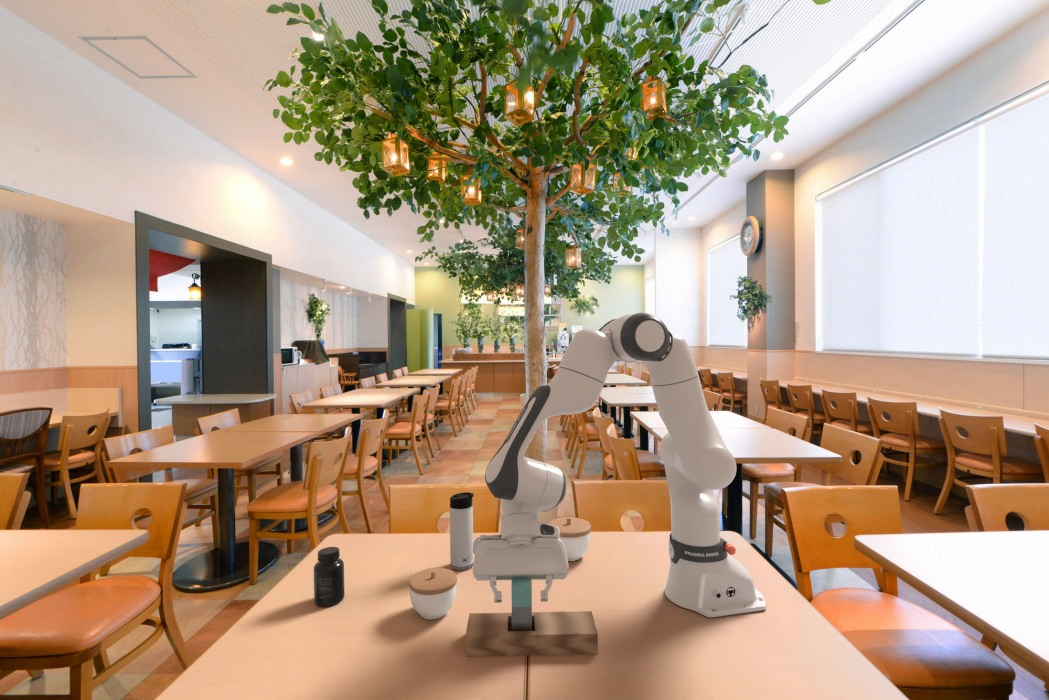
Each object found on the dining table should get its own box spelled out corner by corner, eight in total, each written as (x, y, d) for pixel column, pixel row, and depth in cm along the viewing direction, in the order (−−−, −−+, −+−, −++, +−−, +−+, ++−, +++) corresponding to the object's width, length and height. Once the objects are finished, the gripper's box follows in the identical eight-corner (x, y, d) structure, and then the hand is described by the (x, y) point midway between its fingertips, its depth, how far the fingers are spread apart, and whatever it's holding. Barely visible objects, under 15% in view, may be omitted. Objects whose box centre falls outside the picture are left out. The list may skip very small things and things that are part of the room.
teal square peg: (531, 634, 102) (530, 577, 102) (532, 646, 98) (531, 586, 98) (512, 634, 102) (511, 577, 101) (512, 646, 98) (511, 587, 97)
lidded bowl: (594, 566, 133) (593, 526, 133) (548, 566, 134) (547, 526, 133) (588, 546, 146) (588, 510, 146) (546, 547, 146) (546, 510, 146)
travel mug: (470, 572, 131) (469, 497, 130) (447, 569, 132) (446, 496, 132) (477, 561, 137) (476, 490, 137) (455, 559, 138) (454, 489, 138)
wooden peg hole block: (591, 629, 104) (591, 611, 104) (597, 653, 96) (597, 633, 96) (469, 632, 104) (469, 613, 103) (465, 656, 96) (465, 636, 95)
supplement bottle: (350, 596, 119) (350, 547, 118) (328, 610, 112) (328, 558, 112) (330, 590, 122) (329, 542, 121) (307, 604, 115) (306, 553, 115)
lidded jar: (439, 595, 119) (439, 556, 119) (466, 611, 111) (466, 571, 111) (400, 612, 111) (400, 571, 111) (426, 631, 104) (426, 587, 104)
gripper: (472, 529, 106) (468, 597, 96) (566, 527, 106) (571, 595, 97) (474, 541, 111) (471, 607, 101) (564, 539, 111) (569, 605, 101)
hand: (521, 601), depth 99 cm, fingers open, 8 cm apart
